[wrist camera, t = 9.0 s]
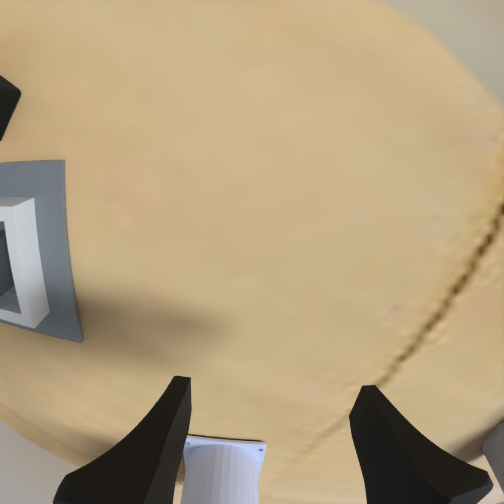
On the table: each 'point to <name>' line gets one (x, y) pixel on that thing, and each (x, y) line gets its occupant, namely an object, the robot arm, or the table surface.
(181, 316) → the table surface
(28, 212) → the end holder
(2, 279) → the block
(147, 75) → the table surface
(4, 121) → the battery
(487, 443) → the coffee mug
